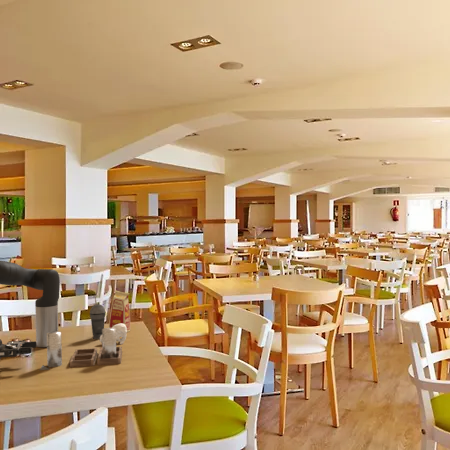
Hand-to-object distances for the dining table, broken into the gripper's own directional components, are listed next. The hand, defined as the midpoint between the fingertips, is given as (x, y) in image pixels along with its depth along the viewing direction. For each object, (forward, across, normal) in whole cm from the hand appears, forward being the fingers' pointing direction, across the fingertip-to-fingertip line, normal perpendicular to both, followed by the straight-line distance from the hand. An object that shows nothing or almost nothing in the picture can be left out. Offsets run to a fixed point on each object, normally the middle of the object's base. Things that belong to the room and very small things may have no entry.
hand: (34, 347), depth 176 cm
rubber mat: (+7, 0, +8) cm, 11 cm away
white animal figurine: (+26, +32, +8) cm, 43 cm away
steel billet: (+7, 0, +7) cm, 10 cm away
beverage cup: (+19, +45, +8) cm, 50 cm away
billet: (+27, 0, +7) cm, 28 cm away
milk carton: (+29, +58, +8) cm, 65 cm away
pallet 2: (+27, +5, +8) cm, 28 cm away
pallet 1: (+17, +5, +8) cm, 19 cm away
